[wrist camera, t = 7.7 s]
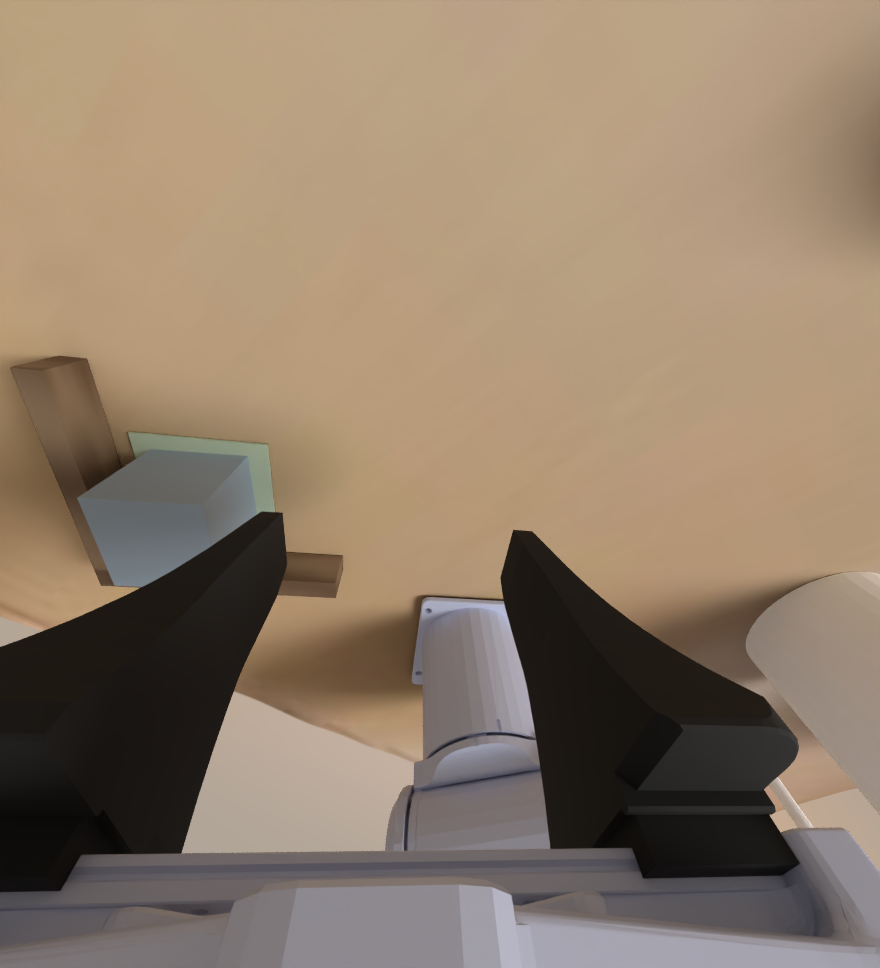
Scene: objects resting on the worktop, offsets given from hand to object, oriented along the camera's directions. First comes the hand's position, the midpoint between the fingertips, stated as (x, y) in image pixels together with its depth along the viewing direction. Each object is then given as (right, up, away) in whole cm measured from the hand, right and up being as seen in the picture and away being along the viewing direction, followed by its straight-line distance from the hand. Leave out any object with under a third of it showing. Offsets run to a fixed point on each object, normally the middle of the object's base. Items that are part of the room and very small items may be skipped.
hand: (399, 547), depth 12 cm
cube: (-12, +2, +10) cm, 15 cm away
